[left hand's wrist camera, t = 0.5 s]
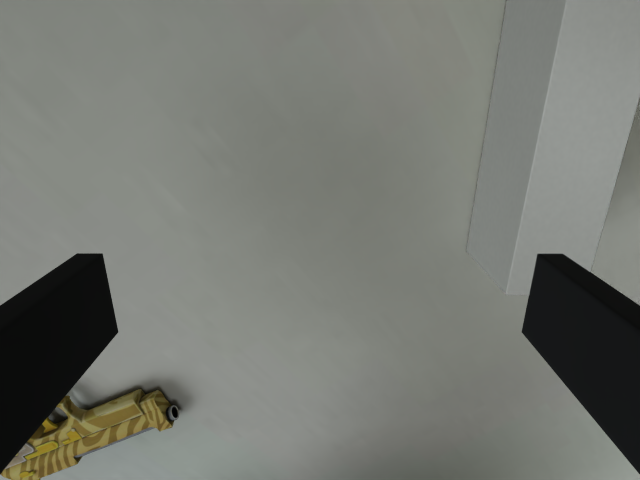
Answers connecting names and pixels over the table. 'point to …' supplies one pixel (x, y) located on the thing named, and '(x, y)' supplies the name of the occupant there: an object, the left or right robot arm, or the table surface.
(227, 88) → the table surface
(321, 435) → the table surface
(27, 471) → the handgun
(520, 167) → the bar
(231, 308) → the table surface
